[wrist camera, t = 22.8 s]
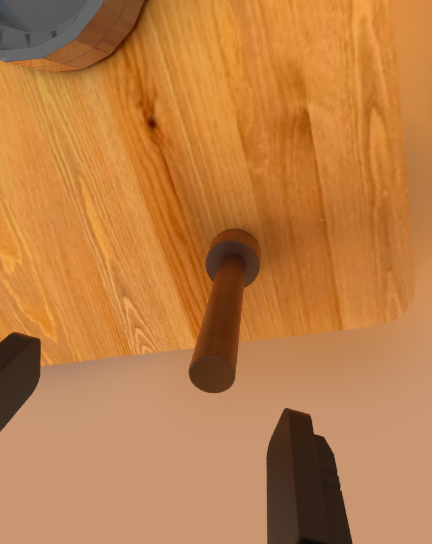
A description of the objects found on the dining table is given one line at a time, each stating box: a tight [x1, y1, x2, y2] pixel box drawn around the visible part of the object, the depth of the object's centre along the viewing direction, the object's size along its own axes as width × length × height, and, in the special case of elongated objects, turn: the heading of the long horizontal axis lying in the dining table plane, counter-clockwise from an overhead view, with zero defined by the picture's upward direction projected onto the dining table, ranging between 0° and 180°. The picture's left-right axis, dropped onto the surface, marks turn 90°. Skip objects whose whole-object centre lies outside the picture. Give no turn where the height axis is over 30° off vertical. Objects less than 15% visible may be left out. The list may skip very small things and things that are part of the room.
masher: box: [189, 229, 260, 393], centre depth 23 cm, size 4×4×16 cm
